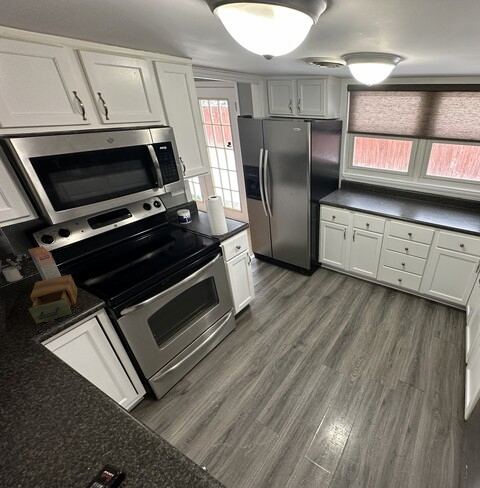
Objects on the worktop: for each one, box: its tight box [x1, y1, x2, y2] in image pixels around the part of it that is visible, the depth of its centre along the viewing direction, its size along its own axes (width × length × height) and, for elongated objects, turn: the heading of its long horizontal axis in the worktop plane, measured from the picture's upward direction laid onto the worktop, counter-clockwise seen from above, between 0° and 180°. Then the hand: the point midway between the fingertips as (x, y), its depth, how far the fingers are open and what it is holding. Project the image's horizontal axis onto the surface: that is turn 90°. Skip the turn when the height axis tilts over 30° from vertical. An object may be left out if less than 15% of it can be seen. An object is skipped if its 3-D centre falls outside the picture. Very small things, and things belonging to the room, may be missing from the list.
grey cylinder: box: [2, 265, 24, 283], centre depth 125 cm, size 5×5×6 cm
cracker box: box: [27, 245, 62, 281], centre depth 136 cm, size 14×6×21 cm, turn 56°
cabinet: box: [29, 273, 78, 306], centre depth 127 cm, size 15×13×10 cm
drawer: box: [28, 290, 73, 325], centre depth 119 cm, size 18×11×8 cm, turn 37°
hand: (14, 277), depth 125 cm, fingers closed on grey cylinder, 5 cm apart
